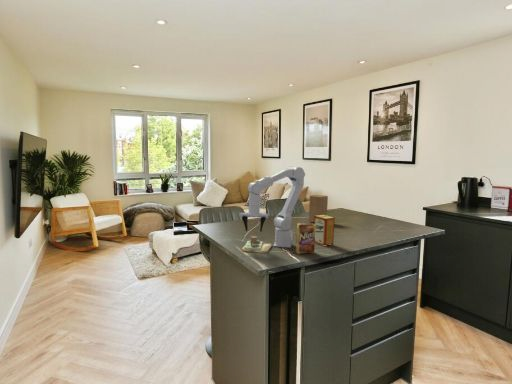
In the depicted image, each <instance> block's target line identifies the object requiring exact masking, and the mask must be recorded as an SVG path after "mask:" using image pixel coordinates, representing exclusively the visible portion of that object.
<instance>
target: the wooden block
mask: <svg viewBox="0 0 512 384" xmlns="http://www.w3.org/2000/svg"><path fill="white" fill-rule="evenodd" d="M328 200H329V197H328V195H324V194H323V195H322V194H312V195H309V202H308V203H309V204H308V205H309V206H308V223H311V222H314V216H317V215H327V216H328V203H329V201H328Z"/></svg>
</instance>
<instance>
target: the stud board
mask: <svg viewBox="0 0 512 384" xmlns="http://www.w3.org/2000/svg"><path fill="white" fill-rule="evenodd" d="M260 241H261V240H259V239H257V244H259V243H260ZM252 246H253V247H256V244H255V243H253V244H252ZM244 247H245V245H244V246H243V247H242V248H241V249H240V250H241V252H251V253H261V254H268V252H269V251H270V250H271V248H272V247H273V244H271V243H263V244H262V247H261V250H249V249H244ZM258 248H259V247H258Z"/></svg>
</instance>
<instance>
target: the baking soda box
mask: <svg viewBox="0 0 512 384" xmlns="http://www.w3.org/2000/svg"><path fill="white" fill-rule="evenodd" d="M314 224H315V225H316V230H315V244H316V243H319V244H322V245H329V244H333V245H334V237H335V236H334V235H335V217H333V216H330V215H328V214H327V215H317V216H314ZM319 244H318V245H319ZM322 245H321V246H322Z"/></svg>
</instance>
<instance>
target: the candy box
mask: <svg viewBox="0 0 512 384" xmlns="http://www.w3.org/2000/svg"><path fill="white" fill-rule="evenodd" d="M296 226H297V227H296V245H295V252H296V254H297V255H298V254H301V253H314V254H315V244H316V243H315V230H316V225H315V224H314V223H311V222H308V223H307V222H303V223H302V222H297V225H296Z"/></svg>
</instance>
